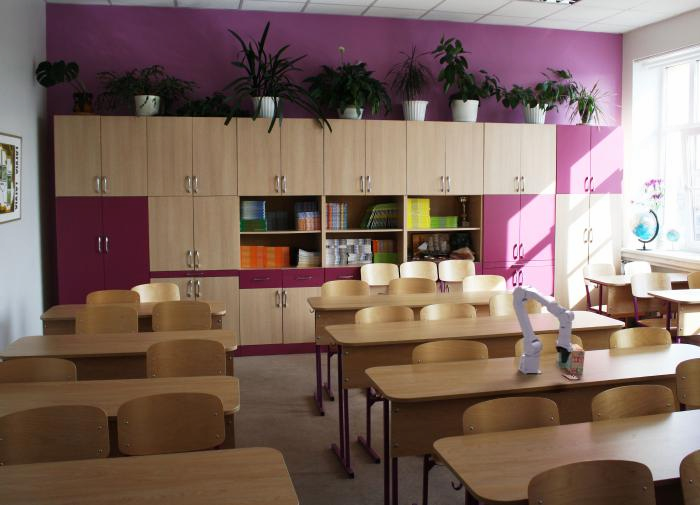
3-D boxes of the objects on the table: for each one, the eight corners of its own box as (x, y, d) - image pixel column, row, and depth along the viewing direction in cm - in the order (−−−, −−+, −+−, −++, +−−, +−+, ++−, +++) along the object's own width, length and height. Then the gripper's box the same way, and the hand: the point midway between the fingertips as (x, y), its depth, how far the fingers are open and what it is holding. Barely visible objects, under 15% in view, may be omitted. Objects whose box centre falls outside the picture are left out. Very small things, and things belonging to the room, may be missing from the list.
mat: (569, 379, 346) (569, 379, 346) (562, 375, 353) (562, 374, 353) (580, 379, 347) (580, 378, 347) (573, 374, 354) (573, 374, 354)
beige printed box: (558, 361, 378) (560, 338, 376) (570, 361, 378) (572, 339, 376) (570, 373, 357) (572, 350, 355) (583, 374, 357) (585, 350, 355)
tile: (557, 367, 344) (558, 353, 343) (555, 366, 347) (556, 352, 345) (569, 367, 345) (570, 353, 344) (566, 365, 348) (568, 352, 347)
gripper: (579, 338, 337) (577, 366, 339) (565, 331, 351) (563, 357, 353) (565, 339, 336) (563, 366, 338) (552, 331, 350) (550, 357, 352)
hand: (562, 361), depth 345 cm, fingers closed on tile, 2 cm apart
